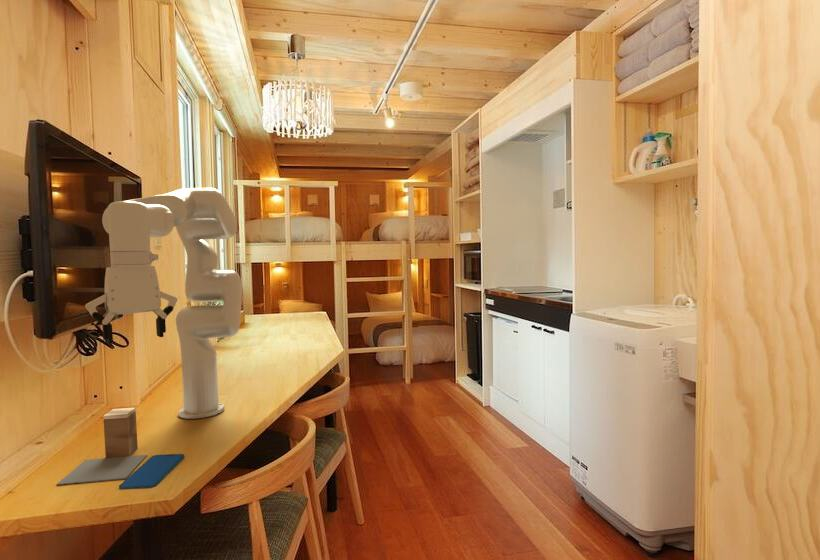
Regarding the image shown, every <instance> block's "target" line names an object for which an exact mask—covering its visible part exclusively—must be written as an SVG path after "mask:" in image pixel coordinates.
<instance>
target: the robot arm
mask: <svg viewBox="0 0 820 560" xmlns="http://www.w3.org/2000/svg"><path fill="white" fill-rule="evenodd" d="M235 216H236V215H235V214H234V212H233V210H232V208H231V206H230V205H229V202H228V201H227V199H226V198H225V196H224V195H223V193H222V192H221V191H220V190H218V189H216V188H215V187H214V188H213V187H187V188H185V187H184V188H178V189H174V190H172V191H169V192H165V193H163V194H156V195H151V196H146V197H140V198H139V197H138V198H133V199H128V200H121V201H120V200H119V201H113V202H111V203H109V204H108V206H107V207H106V208H105V210H104V211H103V214H102V218H101V219H102V220H101V222H102V226H103V229H104V230H105V232H106V233H107V234H108V236H109V237H108V239H109V255H110V257H109V258H110V267H109V266H108V267H106V268H105V275H104V294H103V295H101V296H98V297H97V298H95V299H93V300H91V301H89V302H88V303H86V304H85V305H84V307H85V309H86V310H87V311H88V312H89V314H90V316H91V317H92V318H94V319H95V320H97V321H98V322H99V323H101V325H102V338H103V340H104V341H105V340H106V342H107V344H112V343H114V337H113V324H112V323H111V321H112V320H113V318H114V317H115V316H116V315H128V314H137V313H138V314H139V313H140V314H141V313H149V312H150V313H152V312H153V313H154V314H155V315H156V316H157V318H155V324H156V325H155V326H156V327H155V328H156V336H157V337H159V338H164V336H165V335H164V334H165V333H166V332H167V326H166V319H167V317H168V316H169V315H170V314H171V313H172V312H173V311H174V309H175V308H174V307H176V304H177V302H178V298H177V297H176V296H173V295H170V294H168V293H166V292H163V291H162V290H161V291H160V284H159V277H158V273H157V271H156V266H155V265H152V264H153V262H154V261H158V260H159V254H158V253H157V254H156V253H153V252H152V251H151V238H161V237H162V238H163V237H166V236H168V235H170V234H171V232H172V231H173V229H174V227H175V228H176V232H177V234H178V237H179V238H180V241H181V243H182V245H183V247H184V249H185V252H186V257H187V258H186V259H187V261H186V273H185V283H184V293H185V297H186V298H187V299H188V301H191V302H196V303H217V302H218V303H220V302H221V303H223V304H214V305H212V304H211V305H210V304H209V305H207V304H205V305H204V304H203V305H190V306H189V305H188V306H185V307H183V308H181V309H180V310H179V311H178V312H177V314H176V317H175V326H176V330H177V335H178V339H179V344H180V346H179V347H180V354H181V355H180V358H181V378H182V379H181V381H182V400H183V402H182V403H183V405H182V406H183V407H181V408H180V409H178V411H177V416H178V417H179V418H182V419H187V420H188V419H189V420H194V419H203V418H208V417H213V416H216V415H218V413H219V414H221V413H222V412H223V411H225V405H224V403H222V402H219V382H218V379H219V378H218V358H217V354H218V353H217V350H216V348H215V346H214V345H213V343H212V342H211V341H210V340H209V339H211V338H213V339H214V338H216V339H217V338H231V337H235V336H236V335H237V334H238V332H239V330H240V326H241V318H242V317H241V315H242V296H243V286H242V279H241V277H240V275H239V273H238V272H237V271H235V270H231V269H218V263H219V262H218V261H219V259H218V258H219V257H218V254H217V252H216V251H215V249H214V248H213V247H212V246H211V244H209V243H208V241H206V240H226V239H232V238H233V237H234V236H235V235H236V233H237V229H238V228H237V227H238V225H237V224H238V223H237V218H236V217H235ZM162 299H163V300H166V301H167V302H168V303H167V305H166V306H165V307H164V308H163V309H162V308H161V306H162ZM102 304H104V309H105V311H106V312H105V314H104V315H102V314H100V313H99V311H98V310H97V309H96V308H97V306H99V305H102Z"/></svg>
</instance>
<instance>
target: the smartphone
mask: <svg viewBox="0 0 820 560" xmlns="http://www.w3.org/2000/svg"><path fill="white" fill-rule="evenodd" d="M184 459H185V454H184V453H174V454H173V453H171V454H170V453H169V454H155V455H152V456H150V457H149V458H148V459H147V460H146V461H145V462H144V463H142V465H140V467H137V468H136V469H135V470H134V471H133V472H132V473H131V474H130V475H129V476H128V478H127V479H124V481H123V482H122V483H120V484H119V485H118V488H119V489H120V490H131V489H152V488H154V487H156V486H158V485H159V484H160V483H161V482H162V481H163V479H165V478H166V477H167V476H168V475H169V474H170V473H171V472H172V471H173V470H174V469H175V468H176V467H177V466H178V465H179V464H180V463H181V462H182V461H183V460H184Z"/></svg>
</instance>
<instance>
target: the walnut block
mask: <svg viewBox="0 0 820 560" xmlns="http://www.w3.org/2000/svg"><path fill="white" fill-rule="evenodd" d="M136 409H137V408H136V407H124V408H123V407H122V408H112V409H111V410H109V411H108V412H107V413H105V414H104V415H103V417H102V418H103V431H104V432H103V435H104V451H105V454H104V455H105V458H113V457H125V456H133V453H134V452H136V451H137V450H138V446H139V445H138V429H137V411H136Z"/></svg>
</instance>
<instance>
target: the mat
mask: <svg viewBox="0 0 820 560" xmlns="http://www.w3.org/2000/svg"><path fill="white" fill-rule="evenodd" d="M146 457H148V454H139V455H137V454H136V455H131V456H125V457H113V458H106V457H104V458H102V457H101V458H92V459H84V460H83V461H82V462H80V464H78V466H76V467H75V468H74V469H73V470H71V471H70V472H69V473H68V474H66V475H65V476H64V477H63V478H62V479H61V480H59V481H58V482H57V483H56V485H57V486H65V485H64V484H68V485H75V484H74V483H79V484H88V483H87V482H90V483H98V482H99V483H100V482H109V481H121V480H126V479H127V478H128V477H129V476H130V475H132V474H133V473H134V472H135V471H136V470H137V469H138V468H139V467H138V466H140V464H141V463H142V462H143V461H144V460H145V459H146Z"/></svg>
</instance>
